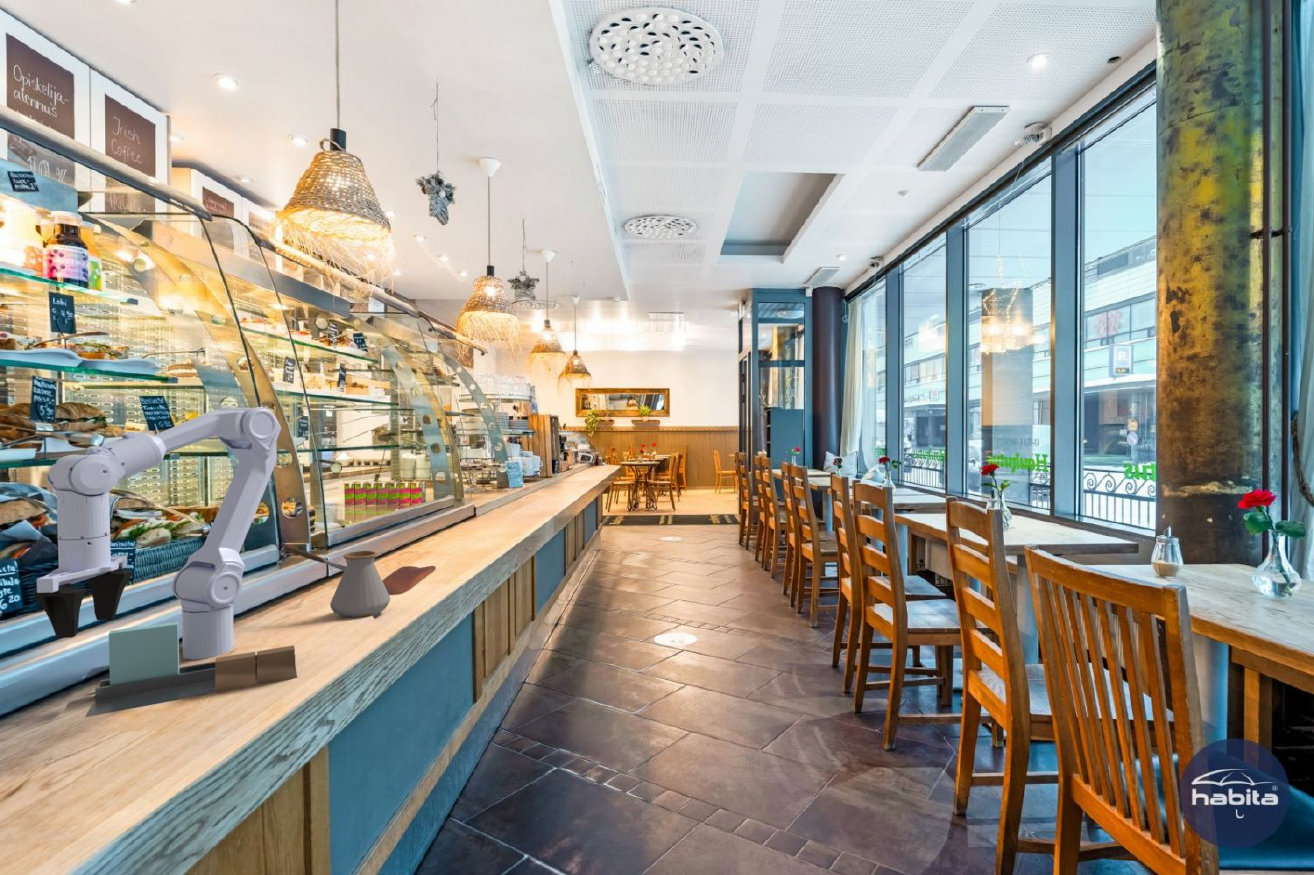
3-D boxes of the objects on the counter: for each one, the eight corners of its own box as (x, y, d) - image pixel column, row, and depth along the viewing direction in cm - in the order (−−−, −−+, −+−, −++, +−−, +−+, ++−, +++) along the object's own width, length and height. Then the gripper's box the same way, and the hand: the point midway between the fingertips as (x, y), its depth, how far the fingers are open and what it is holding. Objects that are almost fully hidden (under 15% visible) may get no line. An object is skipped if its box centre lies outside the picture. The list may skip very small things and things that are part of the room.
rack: (103, 692, 96) (102, 676, 96) (294, 660, 109) (294, 645, 109) (85, 723, 86) (85, 705, 86) (297, 683, 99) (297, 668, 99)
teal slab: (112, 690, 94) (110, 630, 94) (179, 679, 98) (178, 621, 98) (110, 694, 93) (108, 633, 93) (178, 682, 97) (177, 624, 97)
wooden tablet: (401, 570, 174) (401, 564, 174) (438, 570, 174) (438, 564, 174) (359, 598, 147) (359, 590, 147) (402, 597, 148) (402, 590, 148)
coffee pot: (397, 605, 140) (396, 538, 139) (381, 622, 129) (380, 549, 128) (294, 608, 137) (293, 539, 137) (268, 626, 126) (267, 551, 125)
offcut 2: (257, 679, 98) (256, 651, 98) (294, 673, 101) (294, 645, 101) (257, 684, 97) (256, 655, 96) (295, 677, 99) (294, 649, 99)
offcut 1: (216, 687, 96) (215, 657, 95) (255, 680, 98) (255, 651, 98) (215, 692, 94) (215, 662, 94) (255, 684, 96) (255, 655, 96)
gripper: (76, 546, 87) (78, 644, 87) (147, 527, 101) (149, 611, 101) (18, 547, 86) (21, 646, 86) (98, 527, 100) (100, 613, 101)
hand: (86, 627), depth 94 cm, fingers open, 7 cm apart
